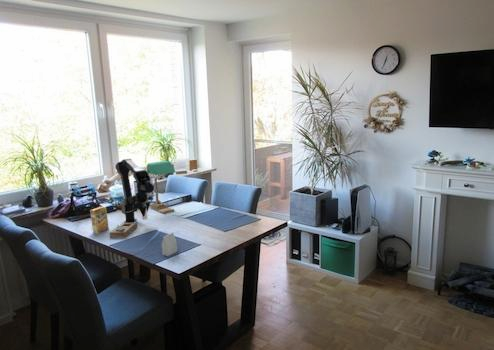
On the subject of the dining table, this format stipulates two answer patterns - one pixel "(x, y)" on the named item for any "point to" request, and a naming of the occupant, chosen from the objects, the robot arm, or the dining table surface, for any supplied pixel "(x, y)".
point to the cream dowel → (145, 215)
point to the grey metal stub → (120, 227)
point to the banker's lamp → (156, 169)
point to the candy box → (99, 219)
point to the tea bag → (169, 244)
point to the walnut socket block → (126, 230)
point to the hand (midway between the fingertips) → (144, 215)
